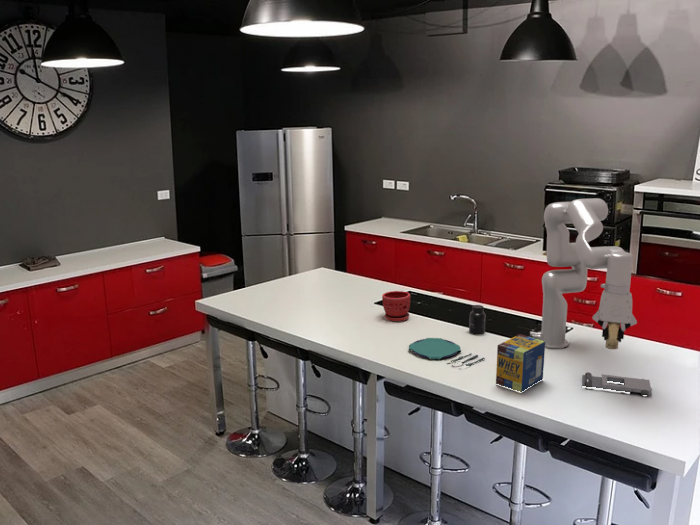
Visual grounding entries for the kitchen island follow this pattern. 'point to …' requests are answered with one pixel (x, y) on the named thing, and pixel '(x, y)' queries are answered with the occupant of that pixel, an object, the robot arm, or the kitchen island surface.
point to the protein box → (520, 362)
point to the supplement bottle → (477, 320)
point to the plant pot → (396, 305)
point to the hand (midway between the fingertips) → (612, 339)
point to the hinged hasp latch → (629, 384)
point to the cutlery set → (438, 349)
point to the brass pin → (612, 335)
